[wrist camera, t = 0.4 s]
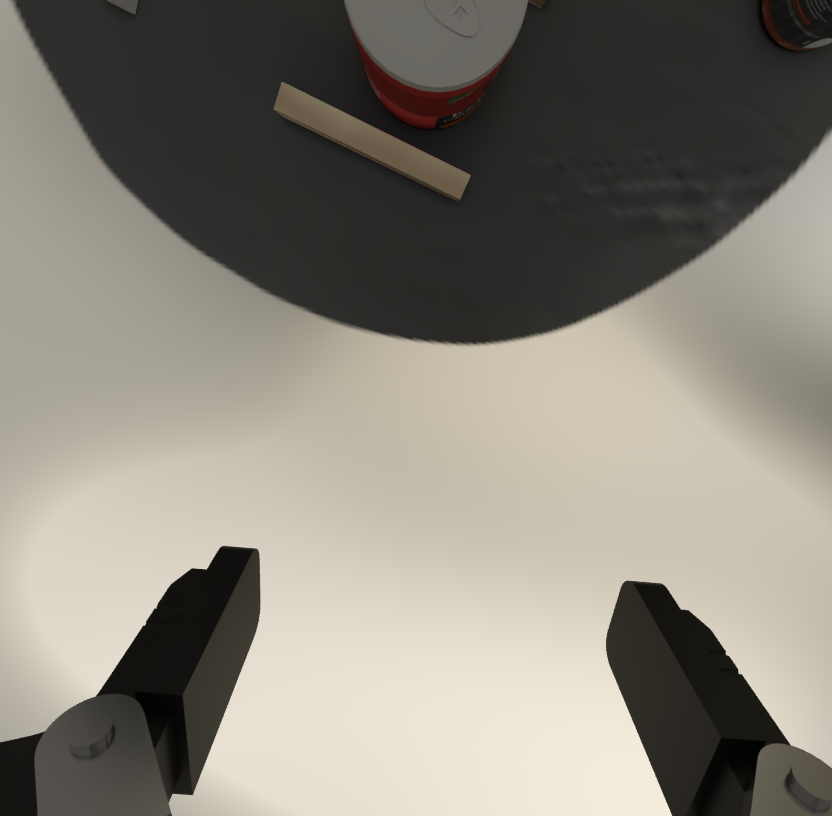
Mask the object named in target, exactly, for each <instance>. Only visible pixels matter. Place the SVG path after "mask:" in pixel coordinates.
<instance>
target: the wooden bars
mask: <svg viewBox="0 0 832 816" xmlns="http://www.w3.org/2000/svg"><path fill="white" fill-rule="evenodd" d="M545 1H546V0H528V2H529V3H531V4H533V5H535V6H536V7H538V8H540V9H541V8H542V6H543V5H544V3H545ZM274 110H275V111H277V112H278V113H279V114H280V115H282V116H283V117H284V118H286V119H288V120H290V121H292V122H294V123H296V124H298V125H301V126H303V127H305V128H307V129H309V130H311V131H313V132H315V133H317V134H319V135H321V136H323V137H325V138H327V139H329V140H331V141H334V142H336V143H338V144H340V145H342V146H344V147H346V148H348V149H350V150H352V151H354V152H356V153H358V154H360V155H362V156H364V157H367V158H369V159H371V160H373V161H375V162H377V163H379V164H381V165H383V166H385V167H387V168H389V169H391V170H393V171H395V172H398V173H400V174H402V175H404V176H406V177H408V178H410V179H412V180H414V181H416V182H418V183H420V184H422V185H424V186H426V187H428V188H431V189H433V190H435V191H437V192H439V193H441V194H443V195H445V196H447V197H449V198H451V199H453V200H455V201H458V200H460V199H461V197H462V194H463V192H464V190H465V187H466V185H467V183H468V181H469V178H470V176H471V175H470V174H468V173H466V172H464V171H461V170H459V169H457V168H455V167H453V166H451V165H449V164H447V163H445V162H443V161H441V160H439V159H437V158H435V157H433V156H431V155H429V154H427V153H425V152H423V151H421V150H419V149H417V148H415V147H413V146H411V145H409V144H407V143H405V142H403V141H401V140H399V139H397V138H395V137H393V136H391V135H389V134H387V133H385V132H383V131H381V130H379V129H377V128H375V127H373V126H371V125H369V124H367V123H365V122H362V121H360V120H358V119H356V118H354V117H352V116H350V115H348V114H346V113H344V112H342V111H340V110H338V109H336V108H334V107H332V106H330V105H328V104H326V103H324V102H322V101H320V100H318V99H316V98H314V97H312V96H310V95H308V94H306V93H304V92H302V91H300V90H298V89H296V88H294V87H292V86H290V85H288V84H286V83H284V82H282V83H281V87H280V90H279V93H278V97H277V100H276V103H275V106H274Z"/></svg>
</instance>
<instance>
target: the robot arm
mask: <svg viewBox="0 0 832 816" xmlns="http://www.w3.org/2000/svg"><path fill="white" fill-rule="evenodd" d="M259 561H260V559H259V551H258V549H254V548H242V547H229V546H222V547H221V548H220V549H219V550H218V552H217V554H216V555H215V557H214V558H213V560H212V562H211V563H210V565H209V567H208V568H207V570H206V569H205V570H204V569H193V568H192V569H191V570H189V571H188V572H187V573H185V574H184V575H183V576H181V577H180V578H179V579H177V580H176V581H175V582H174V583H172V584H171V585H170V587H169V588H168V589H167V591H166V592H165V594H164V595H163V597H162V599H161V600H160V601H159V603H158V605H157V608H156V609H154V611H153V612H152V614H151V615H150V617H149V618H148V620H147V621H146V625H145V626H143V627H142V629H141V630H140V632H139V633H138V635H137V636H136V638H135V639H134V641H133V642H132V644H131V645H130V647H129V648H128V650H127V651H126V653H125V654H124V656H123V657H122V659H121V660H120V662H119V663H118V665H117V666H116V668H115V669H114V671H113V672H112V674H111V675H110V677H109V678H108V680H107V681H106V683H105V684H104V686H103V687H102V689H101V690H100V692H99V693H98V694H97V695H96V697H93V698H90V699H87V700H85V701H83V702H81V703H79V704H77V705H75V706H73V707H72V708H70V709H68V710H67V711H66V712H64V713H63V714H62V715H60V716H59V717H58V718H57V719H56V720H55V721H54V722H53V723H52V724H51V725H50V726H49V727H48V729H47V730H46V731H45V732H42V733H39V734H35V735H32V736H28V737H23V738H19V739H14V740H10V741H5V742H0V816H172V815H171V811H170V807H169V801H170V798H171V796H172V794H185V795H193V793H194V790H195V788H196V785H197V782H198V780H199V777H200V775H201V772H202V769H203V767H204V764H205V762H206V759H207V756H208V754H209V752H210V749H211V746H212V744H213V741H214V739H215V736H216V734H217V731H218V728H219V726H220V723H221V721H222V718H223V716H224V713H225V710H226V708H227V705H228V703H229V700H230V697H231V695H232V692H233V690H234V687H235V685H236V682H237V680H238V677H239V674H240V672H241V669H242V667H243V664H244V662H245V659H246V656H247V654H248V651H249V649H250V646H251V643H252V641H253V638H254V635H255V633H256V629H257V626H258V621H259V614H260V563H259ZM606 651H607V657H608V661H609V664H610V667H611V669H612V672H613V674H614V677H615V679H616V681H617V684H618V686H619V689H620V691H621V694H622V696H623V698H624V701H625V703H626V706H627V708H628V710H629V713H630V715H631V717H632V720H633V722H634V725H635V727H636V730H637V732H638V734H639V737H640V739H641V742H642V744H643V746H644V749H645V751H646V754H647V756H648V758H649V761H650V763H651V766H652V768H653V770H654V773H655V775H656V777H657V780H658V783H659V785H660V787H661V790H662V792H663V794H664V797H665V799H666V802H667V804H668V807H669V809H670V811H671V814H672V816H832V768H831V767H829V766H828V765H827V764H825V763H824V762H823V761H821V760H820V759H818V758H816V757H815V756H813V755H812V754H810V753H808V752H806V751H804V750H802V749H799V748H796V747H794V746H791V745H790V744H789V742H788V741H787V739H786V738H785V736H784V735H783V733H782V732H781V731H780V729H779V728H778V726H777V725H776V723H775V722H774V721H773V719H772V718H771V716H770V715H769V713H768V712H767V710H766V709H765V708H764V706H763V705H762V703H761V702H760V700H759V699H758V697H757V696H756V694H755V693H754V691H753V690H752V689H751V687H750V686H749V684H748V683H747V681H746V680H745V679H744V677H743V676H742V674H738V668H737V667H736V666H735V664H734V663H733V661H732V660H731V658H730V657H729V656H726V651H725V650H724V648H723V647H722V645H721V644H720V642H719V641H718V639H717V638H716V637H715V635H714V634H713V632H712V631H711V629H709V628H708V627H707V626H706V625H705V624H704V623H702V622H701V621H700V620H699V619H698V618H697V617H695V616H694V615H693V614H692V613H691V612H690V611H689V610H681V609H680V608H679V606H678V604H677V603H676V601H675V600H674V598H673V597H672V595H671V594H670V592H669V591H668V589H667V588H666V587H665V586H664V585H663V584H660V583H649V582H637V581H625V582H624V583H623V585H622V587H621V589H620V592H619V596H618V599H617V603H616V606H615V609H614V613H613V616H612V619H611V622H610V626H609V629H608V633H607V638H606Z"/></svg>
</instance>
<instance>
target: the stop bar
mask: <svg viewBox="0 0 832 816" xmlns="http://www.w3.org/2000/svg"><path fill="white" fill-rule="evenodd" d="M107 1H108V2H110V3H112V4H114V5H116V6H118V7H120V8H122V9H124V10H126V11H128V12H130V13H132V14H134V15H135V14H136V9H137V4H138V0H107Z"/></svg>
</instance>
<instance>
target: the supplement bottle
mask: <svg viewBox="0 0 832 816" xmlns="http://www.w3.org/2000/svg"><path fill="white" fill-rule="evenodd" d="M762 15H763V19H764V23H765V26H766V28H767V30H768V32H769V34H770V35H771V36H772V38H773V39H774V40H775V41H776V42H777V43H778V44H780V45H781V46H783V47H785V48H787V49H791V50H798V51H806V50H812V49H815V48H818V47H821V46H824V45H827V44H829V43H832V0H762Z"/></svg>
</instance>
